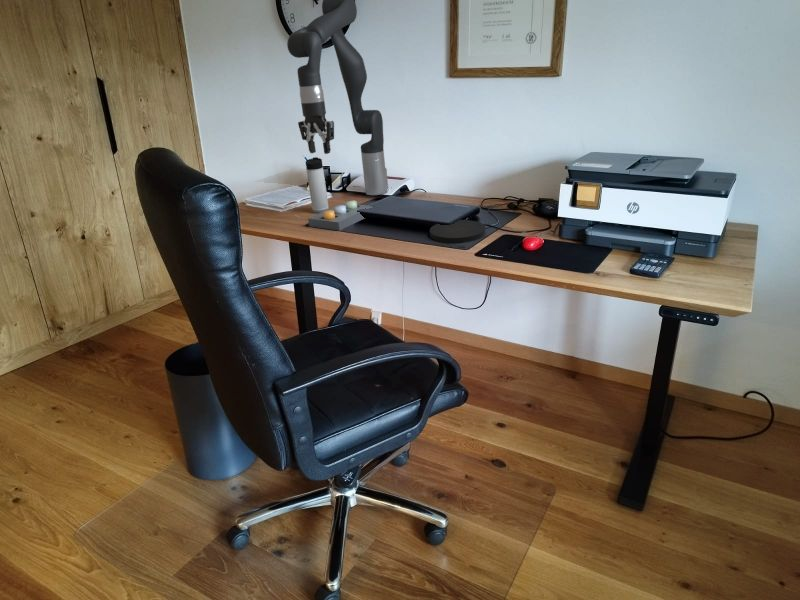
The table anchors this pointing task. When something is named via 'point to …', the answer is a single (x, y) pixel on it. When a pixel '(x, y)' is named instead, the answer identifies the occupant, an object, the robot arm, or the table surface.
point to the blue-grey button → (340, 209)
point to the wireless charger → (458, 232)
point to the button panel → (338, 219)
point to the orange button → (329, 215)
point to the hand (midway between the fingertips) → (320, 152)
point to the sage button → (351, 204)
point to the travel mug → (317, 185)
